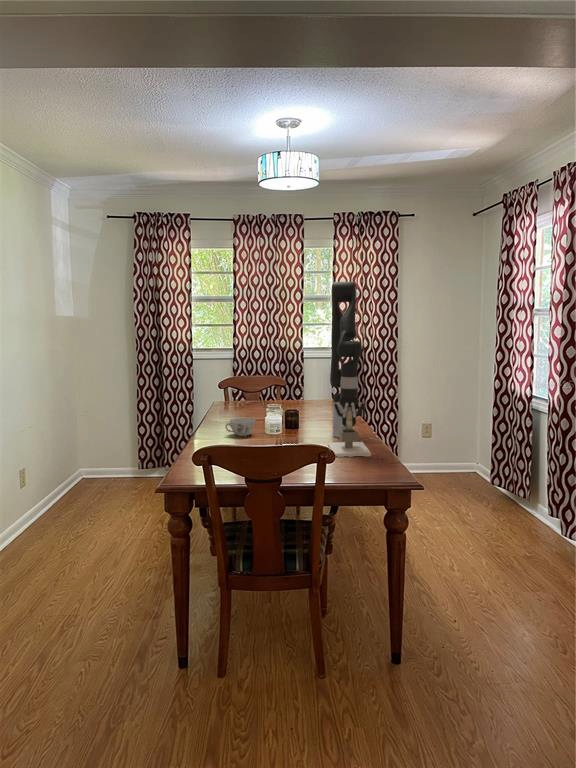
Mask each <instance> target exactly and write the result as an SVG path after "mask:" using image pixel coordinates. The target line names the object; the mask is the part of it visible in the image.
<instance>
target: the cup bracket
mask: <svg viewBox="0 0 576 768" xmlns="http://www.w3.org/2000/svg"><path fill="white" fill-rule="evenodd" d="M339 440H340V441H339V442H338V441H337V442H334V441H333V442H327V447H328V449H329V448H331V449H332V450H333V451H334V452H335V454H336V456H337V457H336V458H349V457H350V458H353V456H364V457H372V452H371V451H370V450H369V448H368V447H367V445H366V444H365V443H364V441H359V431H358V430H357V429H356V428H353V432H345V429H339ZM344 456H345V457H344ZM346 456H348V457H346Z"/></svg>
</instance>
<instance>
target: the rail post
mask: <svg viewBox="0 0 576 768" xmlns="http://www.w3.org/2000/svg"><path fill="white" fill-rule="evenodd" d="M345 418H346V426H345V432H353V429H354V428H353V427H354V426H353V413H352V407H347V412H346V416H345Z"/></svg>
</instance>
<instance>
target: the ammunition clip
mask: <svg viewBox="0 0 576 768" xmlns="http://www.w3.org/2000/svg"><path fill="white" fill-rule="evenodd" d="M283 444H286V445H287V444H290V445H291V444H294V445H295V444H298V445H299V439H298V436H297V435H296V436H295V439H294V436H292V437H291V439H290V437H289V436H288V437H287V439H286V437H284V438H283V439H282V437H280V438H279V440H278V438H276V439H275V444H274V446H275V445H278V446H279V445H282V446H283Z"/></svg>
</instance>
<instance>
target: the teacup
mask: <svg viewBox="0 0 576 768" xmlns="http://www.w3.org/2000/svg"><path fill="white" fill-rule="evenodd" d="M255 424H256V419H255V418H251V417H237V418H236V417H235V418H232V419H230V420H229V422H227V423H226V424H225V431H227V432H229V433H233V434H235V435H236V436H237V435H238V436H237V437H241V436H244V437H248V436H249V435H250V434H251V433H252V431H253V430H254V428H255ZM228 426H229V427H230V429H228ZM247 435H248V436H247Z"/></svg>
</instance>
